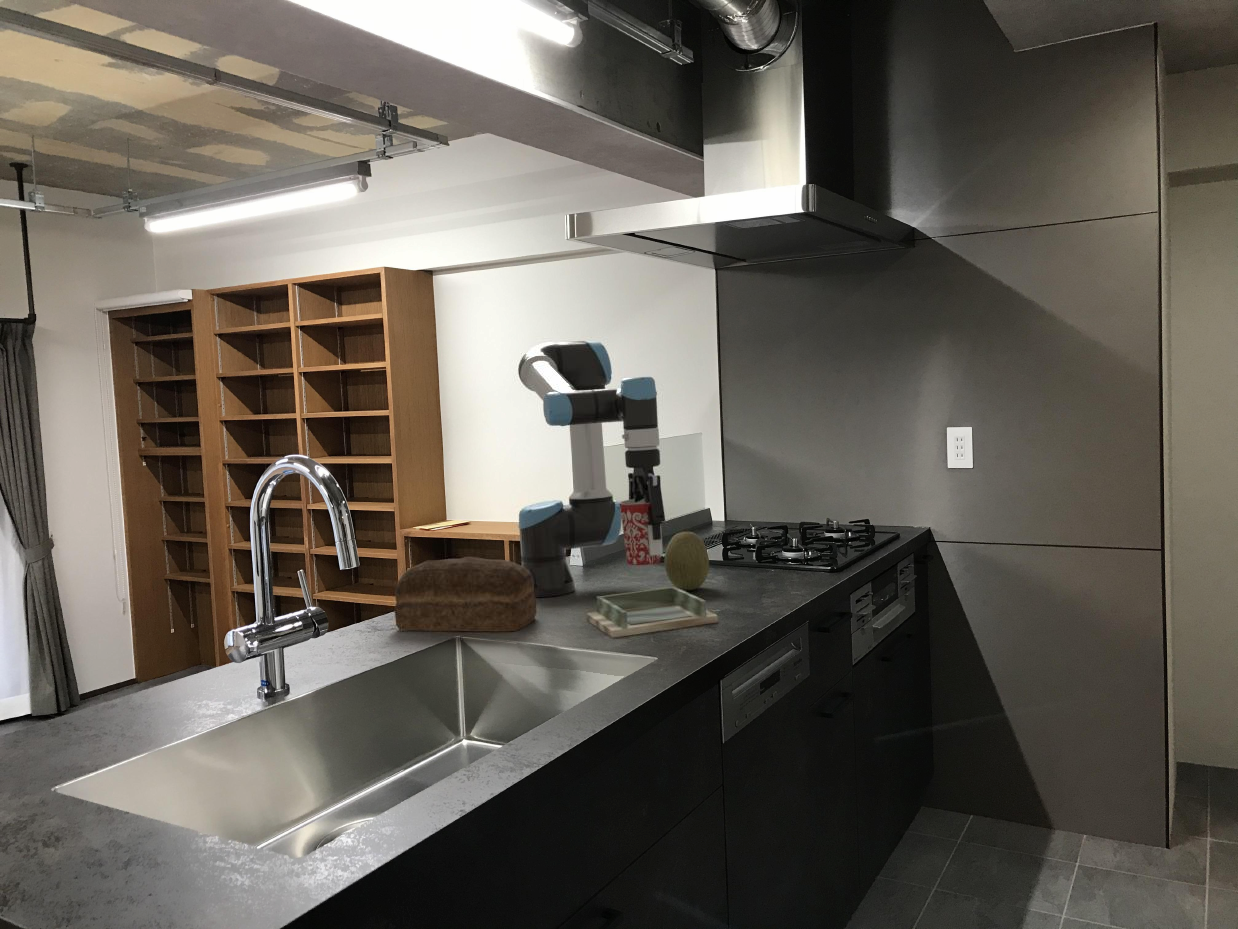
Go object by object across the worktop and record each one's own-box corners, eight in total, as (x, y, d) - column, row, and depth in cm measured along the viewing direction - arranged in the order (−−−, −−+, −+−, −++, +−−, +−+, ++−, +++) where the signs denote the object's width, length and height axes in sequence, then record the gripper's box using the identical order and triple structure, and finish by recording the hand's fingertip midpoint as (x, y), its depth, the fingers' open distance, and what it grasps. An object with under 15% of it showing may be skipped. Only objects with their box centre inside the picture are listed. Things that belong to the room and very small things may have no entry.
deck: (587, 620, 214) (585, 598, 214) (685, 606, 222) (684, 585, 221) (612, 637, 197) (610, 613, 197) (717, 622, 205) (716, 599, 204)
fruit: (658, 589, 244) (655, 531, 242) (697, 583, 248) (694, 526, 247) (678, 596, 233) (675, 536, 232) (719, 590, 237) (715, 531, 236)
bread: (419, 617, 228) (413, 552, 227) (544, 617, 220) (539, 550, 219) (389, 633, 214) (383, 563, 213) (521, 634, 206) (516, 561, 205)
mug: (650, 567, 200) (646, 503, 199) (614, 565, 205) (610, 503, 205) (680, 557, 211) (677, 496, 210) (646, 555, 216) (642, 496, 215)
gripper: (610, 448, 215) (616, 547, 216) (643, 451, 194) (649, 560, 196) (641, 446, 217) (647, 543, 219) (677, 448, 197) (683, 556, 198)
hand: (648, 551), depth 207 cm, fingers closed on mug, 9 cm apart
